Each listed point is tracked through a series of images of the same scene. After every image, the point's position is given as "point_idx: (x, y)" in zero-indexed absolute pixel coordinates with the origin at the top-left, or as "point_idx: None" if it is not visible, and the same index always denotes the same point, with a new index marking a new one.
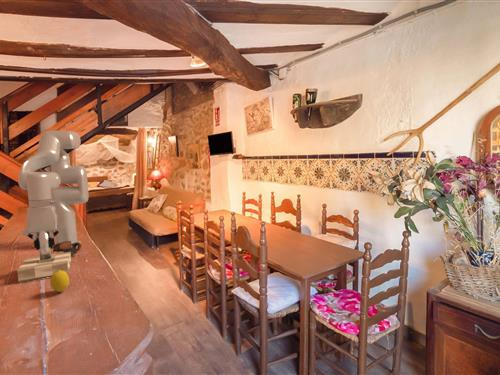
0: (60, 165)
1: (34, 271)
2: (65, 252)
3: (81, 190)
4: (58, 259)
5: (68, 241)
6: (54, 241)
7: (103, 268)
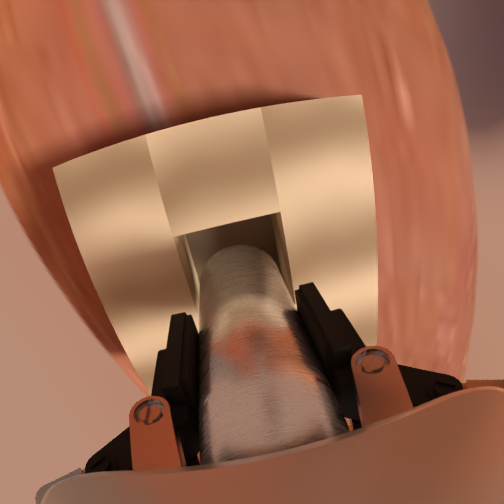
0: None
1: None
2: None
3: None
4: (320, 276)
5: None
6: (351, 327)
7: (465, 262)
